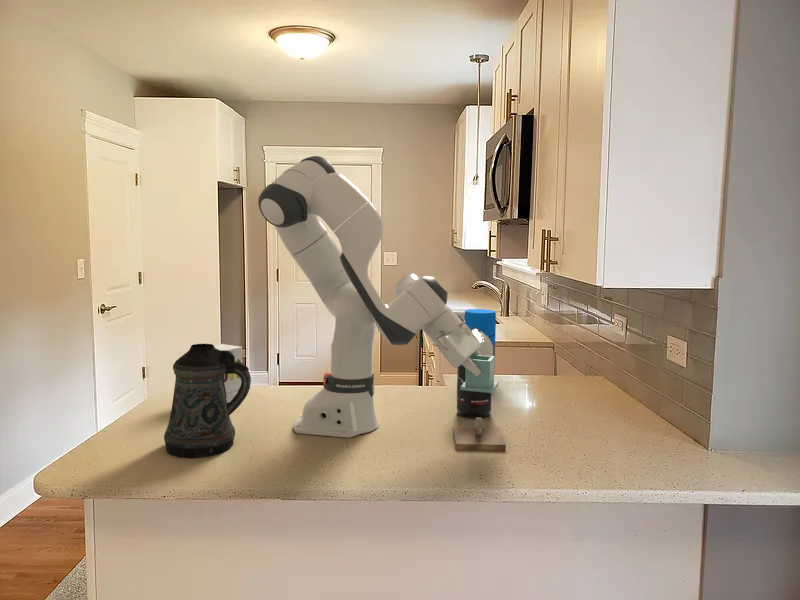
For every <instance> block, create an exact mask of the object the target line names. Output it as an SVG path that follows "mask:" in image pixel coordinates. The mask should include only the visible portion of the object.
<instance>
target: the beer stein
mask: <svg viewBox="0 0 800 600" xmlns="http://www.w3.org/2000/svg"><path fill="white" fill-rule="evenodd" d="M214 346H215V344H212V343H196V344H192V345H191V346H190V348H189V349H188V350H187V352H185V353H184V354H183V355H181V356H180V357H179V358H177V359H176V361H174V363H173V365H172V370H173V374H174V375H175V382H174V388H173V396H172V397H173V399H172V403H171V404H172V405H171V411H170V415H169V416H170V417H169V420H168V422H167V423H168V424H167V427H166V430H165V432H164V434H163V440H164V444H165V449H166V454H168V455H169V456H173V457H175V458H180V459H181V458H182V459H199V458H209V457H213V456H217V455H221V454H223V453H225V452H227V451H229V450H230V449H231V448H232V447H233V446H234V442H235V441H234V440H235V438H236V437H235V435H236V429H235V427H234V425H233V423H232V420H231V416H230V415H231V414H233V413H234V412H235V411H236V410H237V409H238V408H239V407H240V406H241V404H242V403H243V402H244V401H245V399H246V397H247V396H248V394H249V392H250V389H251V383H252V378H251V377H252V376H251V373H250V370H249V369H250V368H249V367H248V366H247V365H245V364H244V363H241V362H239V361H237V362H235V356H234V355H233V354H232V353H231V351H228V350H218V349H216V348H215V347H214ZM224 373H225V374H233V373H234V374H237V375H238V376H239V377H240V378H241V381H242V382H241V386H240V388H239V391H238V393H237V394H236V395H235V397H234V398H233V399H232V400H231V401H230V402H229V403H227V400H226V398H227V397H226V389H225V384H224Z"/></svg>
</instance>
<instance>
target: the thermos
mask: <svg viewBox="0 0 800 600" xmlns="http://www.w3.org/2000/svg"><path fill="white" fill-rule="evenodd" d="M496 313H497V312H496V311H495V310H493V309H485V308H483V309H482V308H472V309H471V308H470V309H465V311H464V318H463V319H464V320H465V323H464V324H466V325H467V326H468V327H469V328H470V329H471V330H472V329H474V328H477V329H479V330H480V331H481V332H483V333H484V334H485V335H486V336H487V337H488V338H489V339H490V341H491V343H492V345H493V356H495V357H496V333H497V332H496V330H497V329H496V328H497V326H496V325H497V314H496ZM495 361H496V358H495V359H494V369H495V366H496V365H495V364H496V362H495Z"/></svg>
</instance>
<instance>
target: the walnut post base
mask: <svg viewBox="0 0 800 600" xmlns="http://www.w3.org/2000/svg"><path fill="white" fill-rule="evenodd" d="M474 426H475V427H452V435H453V436H452V437H453V440H454V447H455V451H497V452H499V451H501V452H505V451H506V450H507V449H506V447H507V445H506V442H505V439H504V437H503V434H502V432H501V429H500V428H497V427H495V428H494V427H493V428H492V427H483V417H481V418H479V417H477V418H475V425H474ZM506 452H507V451H506Z"/></svg>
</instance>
